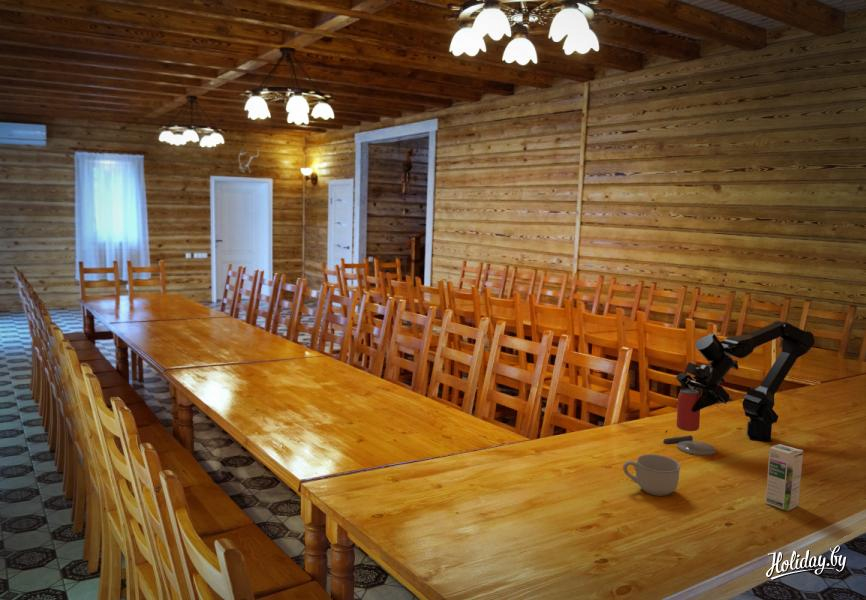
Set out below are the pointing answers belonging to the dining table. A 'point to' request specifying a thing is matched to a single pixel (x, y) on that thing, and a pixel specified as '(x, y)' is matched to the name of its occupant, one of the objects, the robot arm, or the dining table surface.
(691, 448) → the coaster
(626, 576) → the dining table surface
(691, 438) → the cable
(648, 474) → the teacup
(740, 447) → the dining table surface
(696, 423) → the beer can
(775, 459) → the syrup box
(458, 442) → the dining table surface
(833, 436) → the dining table surface
